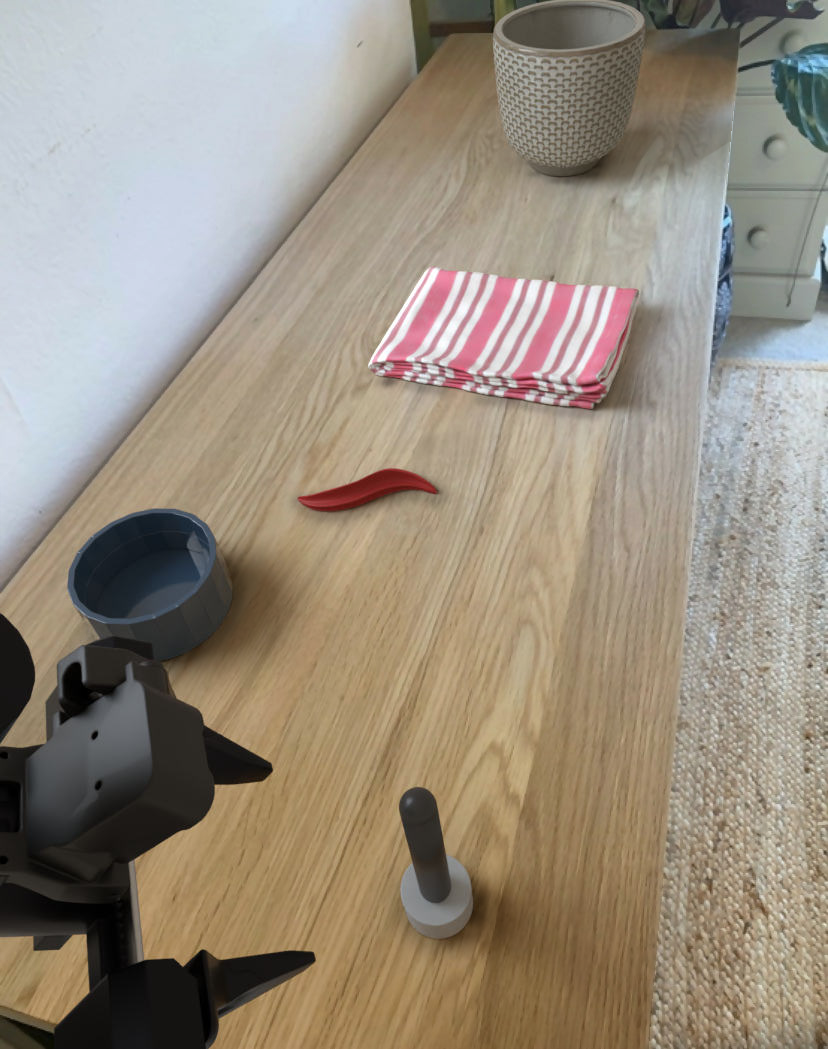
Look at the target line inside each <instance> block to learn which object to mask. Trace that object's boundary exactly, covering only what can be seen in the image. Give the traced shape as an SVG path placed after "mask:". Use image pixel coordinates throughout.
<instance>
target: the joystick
mask: <svg viewBox="0 0 828 1049" xmlns="http://www.w3.org/2000/svg"><path fill="white" fill-rule="evenodd" d="M398 813H399V817H400V819H401V824H402V829H403V831H404V836H405V839H406V843H407V847H408V850H409V854H410V859H411V863H410V865H409V866H408V867H407V868H406V869H405V871H404V873H403V876H402V878H401V881H400V889H399V890H400V899H401V902H402V905H403V909H404V912H405V915H406V918H407V920H408V922H409V924H410V925H411V926H412V927H413V929H414V930H416V931H417V932H418V933H420V935H422V936H425V937H427V938H430V939H435V940H436V939H437V940H443V939H447V938H451V937H453V936H455V935H456V934H458V933H459V932H461V931H462V930H463V929H464V927H466V925H467V924H468V922H469V920H470V919H471V916H472V912H473V910H474V897H473V896H474V895H473V889H472V888H473V887H472V882H471V878H470V875H469V872H468V871H467V869H466V867H465V866H464V864H463V863H461V862H460V861H459V860H458V859H456V858H455V857H453V856H452V855H449V854H447V852H446V846H445V842H444V834H443V830H442V824H441V819H440V813H439V806H438V802H437V798H436V797H435V795H434V794H433V792H431V790H429V789H427V788H425V787H422V786H414V787H411V788H409V789H406V790H405V792H403V793H402V795H401V797H400V799H399V803H398Z"/></svg>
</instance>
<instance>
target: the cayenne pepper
mask: <svg viewBox="0 0 828 1049" xmlns="http://www.w3.org/2000/svg"><path fill="white" fill-rule="evenodd" d="M409 490H416V491H422V492H426V493H430V494H436V495H437V494H438V492H437V489H436V488H435V486H434V485H433V484H432V483H431V482H430V481H428V480H426V478H424V477H422V476H420V475H419V474H416V473H414V472H412V471H408V470H406V469H401V468H395V467H391V468H390V467H389V468H383V469H380V470H377V471H374V472H373V473H370V474H368V475H366V476H364V477H362V478H360V479H358V480H355V481H352V482H350V483H347V484H346V483H345V484H343V485H340V486H337V487H334V488H330V489H326V490H323V491H319V492H316V493H312V494H308V495H300V496H297V501H298V502H299V503H300V504H301V505H303V506H305V507H307V508H309V509H311V510H314V511H318V512H338V511H344V510H349V509H352V508H356V507H359V506H362V505H364V504H366V503H370V502H371V501H374V500H376V499H379V498H381V497H383V496H384V497H385V496H387V495H390V494H392V493H396V492H400V491H409Z"/></svg>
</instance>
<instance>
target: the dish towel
mask: <svg viewBox="0 0 828 1049" xmlns="http://www.w3.org/2000/svg"><path fill="white" fill-rule="evenodd" d="M639 296H640V289H638V288H632V287H631V288H630V287H629V288H622V287H619V286H614V285H604V284H603V285H601V284H595V285H593V284H592V285H589V284H568V283H561V282H557V281H553V280H544V279H534V278H532V279H528V278H512V277H506V276H501V275H499V274H498V275H497V274H493V273H484V272H481V271H480V272H479V271H465V270H447V269H442V268H441V267H439V266H435V265H434V266H430V267H429V268H428V269H426V270H425V272H424V273H423V274H422V276H421V278H420V279H419V281H418V282H417V283H416V285H415V287H414V289H413V290H412V292H410V295H409V297H408V298H407V299H406V301H405V303H404V305H403V306H402V308H401V309H400V311H399V312H398V314H397V315H396V317H395V319H394V321H393V322H392V324H391V325H390V327H389V328H388V330H386V332H385V334H384V336H383V338H382V340H381V342H380V343H379V345H378V346H377V348H376V349H375V351H374V353H373V354H372V357H371V358H370V361H369V362H368V365H367V367H368V369H369V370H370V371H371V372H372V373H373V374H374V375H376V376H379V377H389V378H397V379H401V380H405V381H409V382H415V383H419V384H424V385H434V386H439V387H449V388H457V389H459V390H463V391H466V392H472V393H478V394H480V395H486V396H494V397H499V398H513V399H518V400H524V401H527V402H532V403H540V404H545V405H551V406H560V407H578V408H582V409H586V410H588V409H589V410H593V409H594V408H595V404H600V403H601V402H602V400H603V399H604V398H606V397H607V395H608V393H609V392H610V389H611V386H612V384H613V381H614V378H615V377H616V375H617V372H618V370H619V367H620V365H621V361H622V357H623V354H624V351H625V348H626V345H627V343H628V340H629V338H630V337H629V336H630V333H631V330H632V325H633V321H634V317H635V314H636V308H637V303H638V299H639Z"/></svg>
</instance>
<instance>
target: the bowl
mask: <svg viewBox="0 0 828 1049" xmlns="http://www.w3.org/2000/svg"><path fill="white" fill-rule="evenodd" d="M67 574H68V575H67V586H66V588H67V589H66V590H67V593H68V596H69V598H70V601H71V603H72V605H73V606H74V608H75V610H76V611H77V613H78V614H79V615H80V617H81V619H82V620H83V622H84V624H85V625H86V627H87V628H88V630H89V631H90V633H91V634H92V636H93V638H94V639H95V640H98V639H102V638H105V637H108V636H111V635H115V636H120V637H125V638H131V639H136V640H141V641H146V642H149V643H152V647H153V655H154V660H158V661H160V662H162V661H167V660H171V659H174V658H177V657H179V656H182V655H184V654H187V653H188V652H190V651H192V650H194V649H195V648H197V647H198V646H200V645H201V644H202V643H204V642H205V641H206V640H208V639H209V638H210V637H211V636H212V635H213V634H214V633H215V632H216V630H218V628H219V627H220V626H221V625H222V623H223V622H224V621H225V619H226V617H227V614H228V613H229V610H230V608H231V605H232V600H233V592H234V589H233V588H234V587H233V581H232V578H231V573H230V570H229V567H228V565H227V563H226V561H225V559H224V556H223V554H222V551H221V549H220V546H219V544H218V542H217V539H216V537H215V536H214V534H213V532H212V530H211V528H210V526H209V525H208V524H207V523H206V521H203V520H202V519H201V518H199V517H198V516H197V515H195V514H193V513H192V512H189V511H184V510H182V509H178V508H163V507H162V508H161V507H160V508H158V507H157V508H155V507H154V508H148V509H144V510H140V511H135V512H132V513H129V514H127V515H124V516H121V517H120V518H118V519H115V520H113V521H110V522H109V523H108V524H106V525H105V526H104V527H102V528H100V529H99V530H97V531H96V532H95V533H94V534H92V535H91V536H90V537H89V538H88V539H87V540H86V541H85V543H84V544H83V545H82V546H81V548H80V549H79V550H77V553H76V554H75V556H74V558H73V560H72V563H71V564H70V567H69V568H68V573H67Z"/></svg>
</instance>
